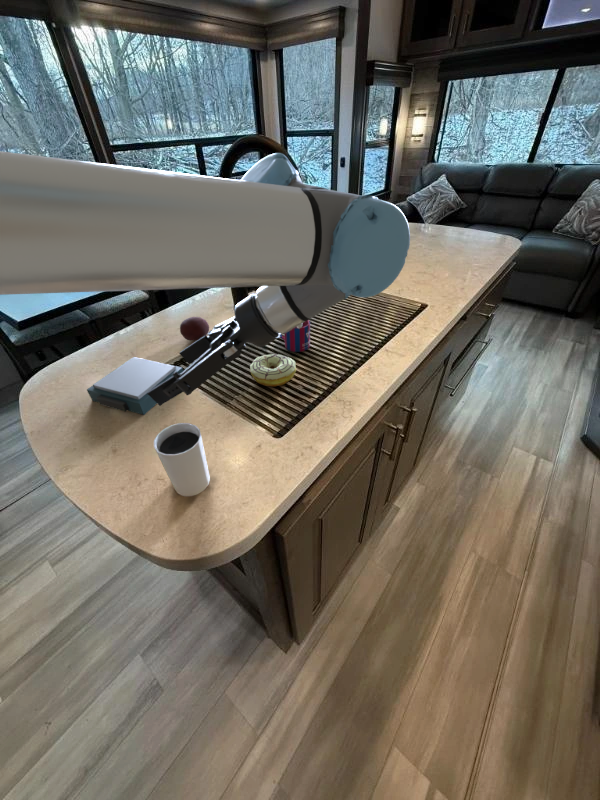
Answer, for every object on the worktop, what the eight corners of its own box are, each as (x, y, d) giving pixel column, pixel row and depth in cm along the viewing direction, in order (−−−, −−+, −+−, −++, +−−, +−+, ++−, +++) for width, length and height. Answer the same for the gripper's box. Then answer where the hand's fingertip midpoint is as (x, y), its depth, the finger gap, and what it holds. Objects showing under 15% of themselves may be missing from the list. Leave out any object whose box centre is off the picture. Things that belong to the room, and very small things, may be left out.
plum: (176, 339, 93) (171, 319, 89) (201, 329, 98) (197, 309, 94) (190, 348, 89) (185, 327, 85) (216, 337, 94) (212, 317, 90)
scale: (140, 418, 67) (134, 403, 64) (88, 403, 71) (80, 389, 68) (185, 378, 78) (181, 364, 75) (138, 367, 82) (133, 354, 79)
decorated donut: (282, 359, 84) (281, 346, 81) (304, 380, 76) (304, 366, 74) (244, 371, 80) (242, 358, 77) (263, 394, 72) (262, 380, 70)
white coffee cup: (163, 494, 52) (143, 451, 46) (184, 462, 57) (169, 419, 51) (201, 502, 51) (187, 459, 45) (219, 469, 56) (208, 426, 50)
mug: (301, 354, 85) (300, 330, 81) (270, 344, 90) (268, 321, 86) (314, 344, 90) (314, 320, 86) (284, 334, 94) (283, 312, 90)
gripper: (272, 374, 41) (157, 438, 49) (290, 306, 62) (206, 358, 69) (234, 325, 38) (116, 402, 46) (266, 271, 58) (181, 330, 66)
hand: (170, 376), depth 57 cm, fingers open, 13 cm apart
